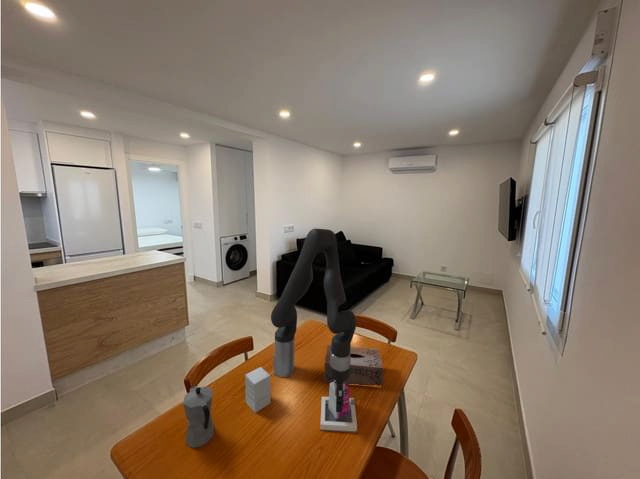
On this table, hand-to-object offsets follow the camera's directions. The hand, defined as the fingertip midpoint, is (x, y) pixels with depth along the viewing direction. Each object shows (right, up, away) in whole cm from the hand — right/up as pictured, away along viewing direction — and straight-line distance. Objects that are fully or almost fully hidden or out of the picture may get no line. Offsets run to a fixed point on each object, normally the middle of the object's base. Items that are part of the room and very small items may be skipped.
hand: (338, 402), depth 95 cm
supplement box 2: (0, -4, +1) cm, 4 cm away
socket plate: (0, -5, +1) cm, 6 cm away
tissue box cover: (+8, -3, +24) cm, 26 cm away
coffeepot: (-48, -6, -9) cm, 49 cm away
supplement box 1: (-32, -4, +6) cm, 33 cm away
